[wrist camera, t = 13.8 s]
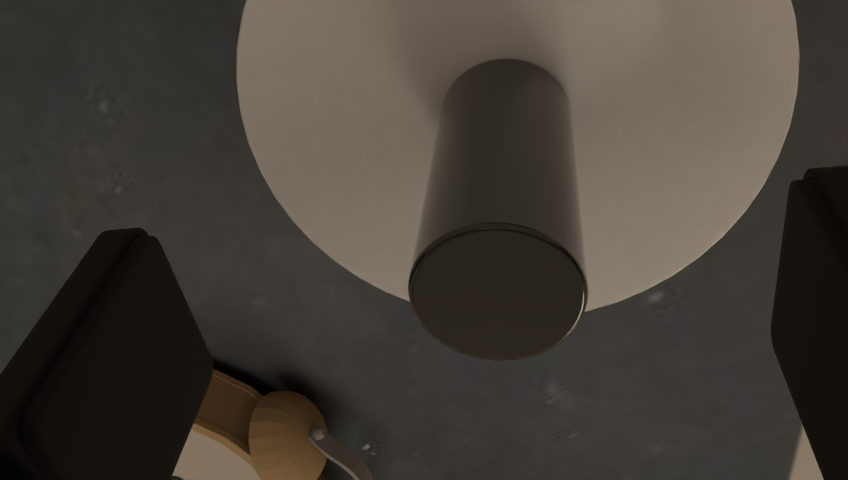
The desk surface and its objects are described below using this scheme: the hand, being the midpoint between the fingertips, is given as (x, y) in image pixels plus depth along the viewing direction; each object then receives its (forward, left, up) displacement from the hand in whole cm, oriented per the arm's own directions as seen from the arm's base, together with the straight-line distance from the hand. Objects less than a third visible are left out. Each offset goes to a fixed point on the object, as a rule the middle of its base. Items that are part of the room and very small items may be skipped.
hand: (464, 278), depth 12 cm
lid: (0, 0, -6) cm, 6 cm away
